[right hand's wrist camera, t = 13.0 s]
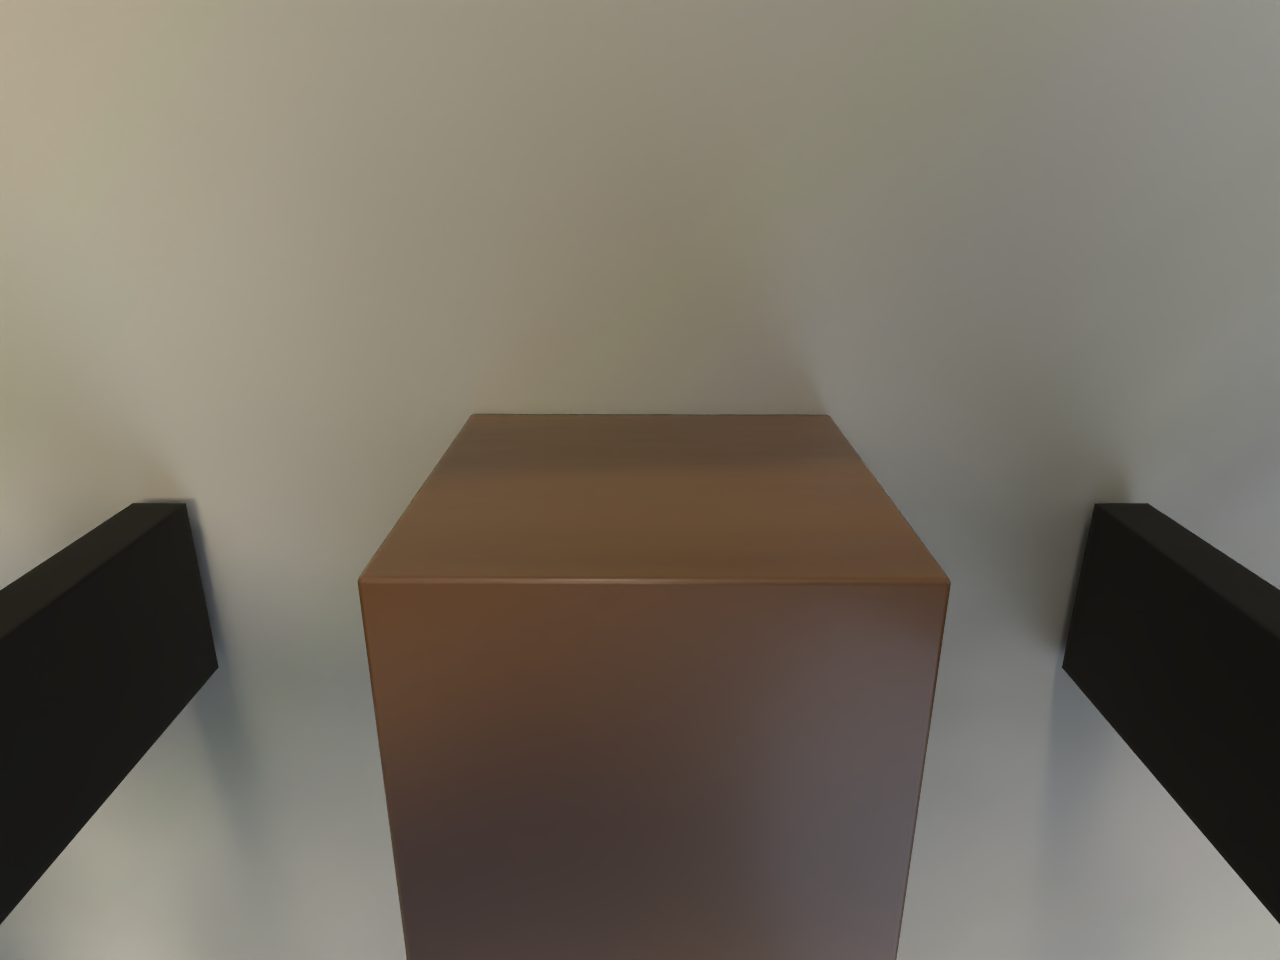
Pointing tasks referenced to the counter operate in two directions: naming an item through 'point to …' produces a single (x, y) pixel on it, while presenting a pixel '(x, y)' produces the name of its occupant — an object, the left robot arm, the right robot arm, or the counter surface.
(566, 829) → the walnut block
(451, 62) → the counter surface
